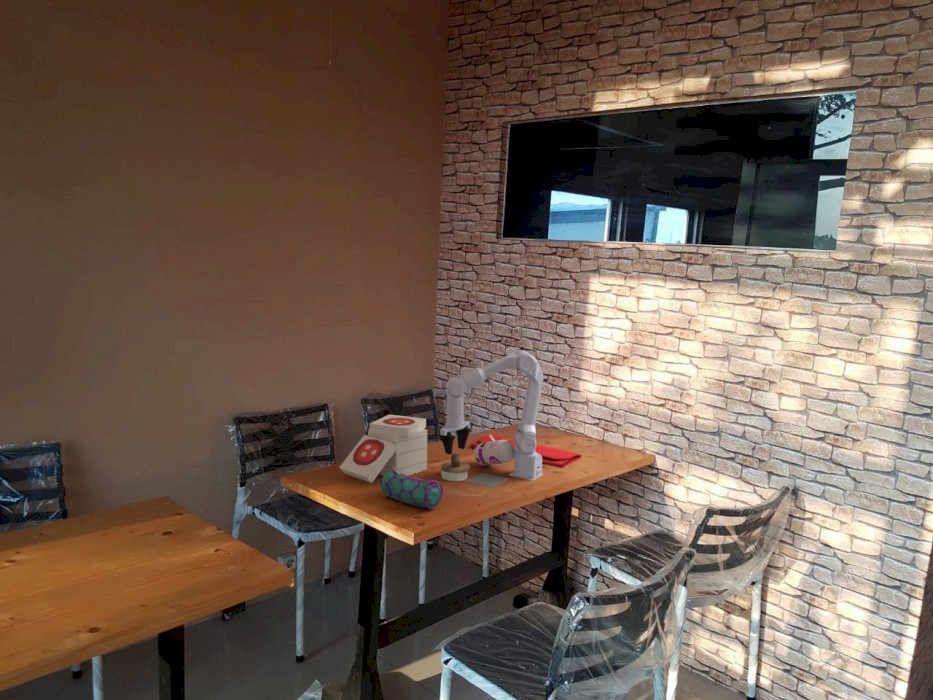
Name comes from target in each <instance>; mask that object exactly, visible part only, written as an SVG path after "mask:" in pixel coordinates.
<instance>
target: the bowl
mask: <svg viewBox="0 0 933 700" xmlns="http://www.w3.org/2000/svg"><path fill="white" fill-rule="evenodd" d="M468 471H469V470H468ZM468 471H466V472H462V473H450V472H445V471H443V470H442V469H441V478H442V480H444V481H448V482H449V481H450V482H460V481H461V482H462V481H466V480H468Z"/></svg>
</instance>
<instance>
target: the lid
mask: <svg viewBox="0 0 933 700" xmlns="http://www.w3.org/2000/svg"><path fill="white" fill-rule="evenodd" d="M450 455H451V456H450V457H451V458H450V461H448V462H445V463H442V464H441V465H440V470H441V471H442V470H443V471H445V472H450V473H462V472H466V471H469V470H470V469H471V465H470V464H468V463H467V462H463V461H461V455H460V454H459V453H452V454H450Z"/></svg>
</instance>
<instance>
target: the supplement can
mask: <svg viewBox="0 0 933 700" xmlns="http://www.w3.org/2000/svg"><path fill="white" fill-rule="evenodd" d="M514 454H515V448H514V445H513V444H512V443H511V442H509V441H508V440H498V441H492V442H486V443H481V444H479V445H477V447H476V448H475V449H474V458H475V459H474V460H475V461H476V462H477V463H478V465H480V466H484V467H485V466H494V465H500V464H501V465H502V464H508V463H509V462H510V463H511V461H512V460H513V459H514Z"/></svg>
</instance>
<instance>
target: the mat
mask: <svg viewBox="0 0 933 700" xmlns="http://www.w3.org/2000/svg"><path fill="white" fill-rule="evenodd" d="M509 480H510V478H506V477H502V476H497V475H494V474H489V473H485V472H482V473H479V474H477V475H475V476H473V477H470V478H469V479H468V478H467V479H465V482H466V483H470V484H475V485H479V486H483V487H488V488H491V489H493V488H495V487H496V486H499V485H501V484H503V483H505V482H507V481H509Z"/></svg>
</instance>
